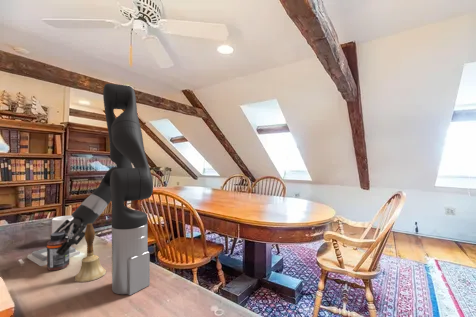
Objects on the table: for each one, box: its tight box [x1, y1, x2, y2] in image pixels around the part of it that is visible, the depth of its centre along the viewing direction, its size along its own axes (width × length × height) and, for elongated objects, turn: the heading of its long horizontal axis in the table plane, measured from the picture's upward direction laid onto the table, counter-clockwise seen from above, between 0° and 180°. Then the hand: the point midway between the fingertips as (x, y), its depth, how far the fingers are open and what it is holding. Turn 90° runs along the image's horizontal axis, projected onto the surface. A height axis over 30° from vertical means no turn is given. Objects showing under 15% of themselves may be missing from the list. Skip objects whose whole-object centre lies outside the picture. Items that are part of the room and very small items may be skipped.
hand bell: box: [74, 223, 107, 283], centre depth 74 cm, size 8×8×16 cm
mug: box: [51, 215, 74, 238], centre depth 105 cm, size 12×8×10 cm
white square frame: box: [27, 245, 81, 267], centre depth 89 cm, size 12×12×2 cm
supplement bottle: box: [46, 232, 70, 272], centre depth 80 cm, size 6×6×11 cm
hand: (53, 251), depth 78 cm, fingers open, 8 cm apart
